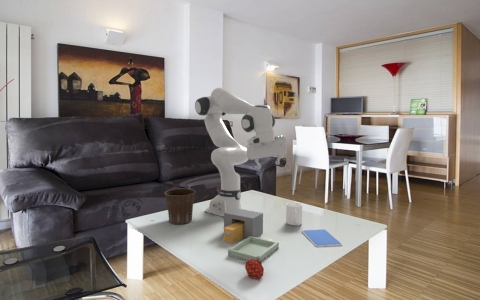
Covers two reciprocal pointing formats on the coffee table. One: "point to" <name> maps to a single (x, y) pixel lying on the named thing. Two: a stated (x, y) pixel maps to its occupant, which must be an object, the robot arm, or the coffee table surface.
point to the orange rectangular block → (234, 232)
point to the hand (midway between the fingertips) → (268, 166)
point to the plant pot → (180, 205)
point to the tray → (253, 249)
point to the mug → (294, 213)
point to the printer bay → (245, 221)
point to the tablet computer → (321, 238)
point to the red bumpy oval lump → (254, 268)
